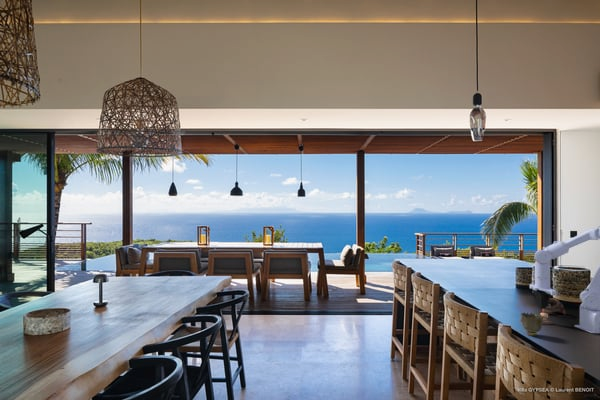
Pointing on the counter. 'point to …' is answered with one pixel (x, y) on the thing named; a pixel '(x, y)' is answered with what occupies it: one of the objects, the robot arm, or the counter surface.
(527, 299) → the counter surface
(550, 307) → the pottery mug
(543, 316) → the terracotta button
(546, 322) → the button panel
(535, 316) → the cup
